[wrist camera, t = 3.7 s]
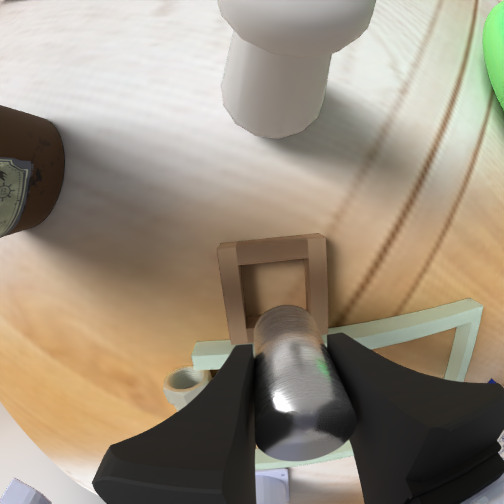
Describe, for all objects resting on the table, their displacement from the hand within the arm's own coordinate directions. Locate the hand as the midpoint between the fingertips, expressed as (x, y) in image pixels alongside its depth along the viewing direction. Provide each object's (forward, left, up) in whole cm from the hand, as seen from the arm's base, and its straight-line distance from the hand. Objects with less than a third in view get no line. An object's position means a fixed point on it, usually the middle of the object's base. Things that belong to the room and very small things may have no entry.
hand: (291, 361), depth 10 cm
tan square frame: (0, 0, -9) cm, 9 cm away
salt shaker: (+12, -1, -9) cm, 15 cm away
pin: (0, 0, -2) cm, 2 cm away
